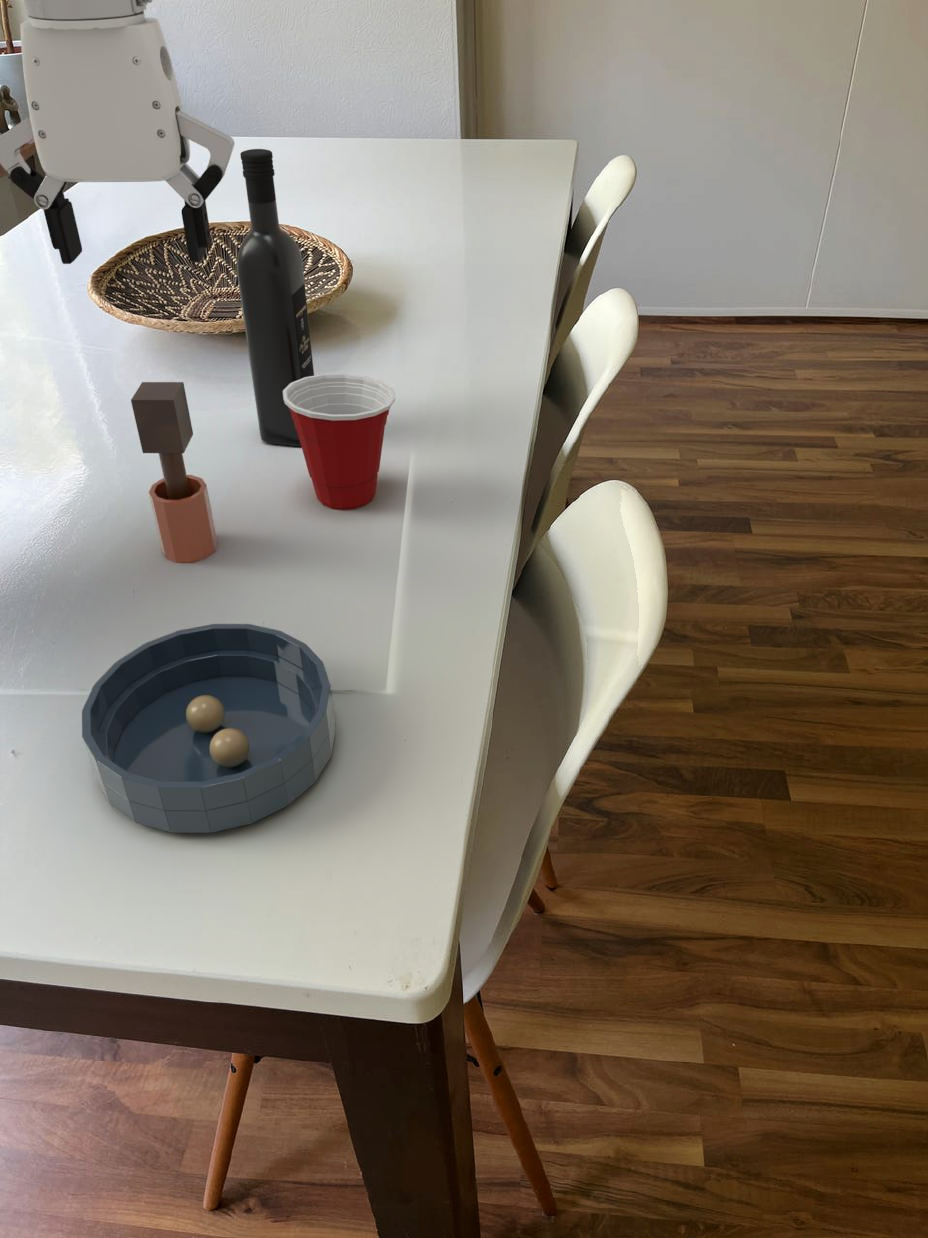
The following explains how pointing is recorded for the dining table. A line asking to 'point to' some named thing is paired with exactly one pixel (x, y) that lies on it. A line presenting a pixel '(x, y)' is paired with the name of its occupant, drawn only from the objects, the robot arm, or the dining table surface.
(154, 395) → the stick
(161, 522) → the stick holder
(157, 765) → the bowl
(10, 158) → the robot arm
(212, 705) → the bead
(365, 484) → the plastic cup
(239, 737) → the bead
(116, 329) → the dining table surface
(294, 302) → the wine bottle
